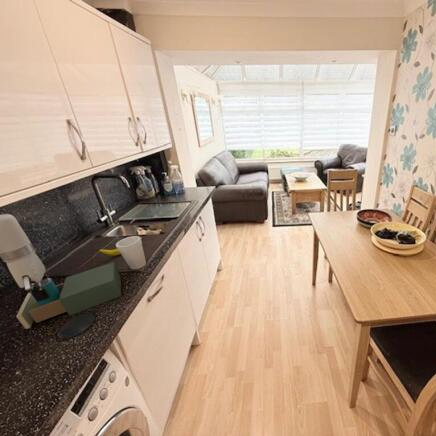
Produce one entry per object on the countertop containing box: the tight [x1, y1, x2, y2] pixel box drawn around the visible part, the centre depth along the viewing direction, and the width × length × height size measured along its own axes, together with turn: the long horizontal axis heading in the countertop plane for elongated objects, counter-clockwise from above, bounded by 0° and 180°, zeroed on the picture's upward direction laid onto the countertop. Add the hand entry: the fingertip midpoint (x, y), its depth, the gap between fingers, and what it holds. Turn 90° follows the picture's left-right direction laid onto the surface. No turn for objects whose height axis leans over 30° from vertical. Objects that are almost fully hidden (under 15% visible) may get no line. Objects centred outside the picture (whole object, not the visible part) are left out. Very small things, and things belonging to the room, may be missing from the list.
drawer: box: [16, 282, 67, 330], centre depth 87 cm, size 16×14×6 cm
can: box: [29, 277, 61, 307], centre depth 85 cm, size 6×6×10 cm
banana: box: [97, 236, 143, 256], centre depth 121 cm, size 3×19×6 cm, turn 131°
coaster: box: [56, 312, 96, 340], centre depth 80 cm, size 10×10×1 cm
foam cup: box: [115, 235, 147, 270], centre depth 108 cm, size 10×9×13 cm
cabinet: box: [59, 261, 122, 317], centre depth 93 cm, size 16×15×8 cm
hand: (45, 293), depth 85 cm, fingers closed on can, 6 cm apart
